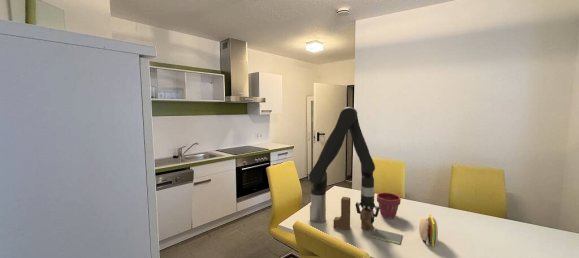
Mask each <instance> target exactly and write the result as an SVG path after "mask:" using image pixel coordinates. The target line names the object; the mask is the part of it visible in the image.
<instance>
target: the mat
mask: <svg viewBox="0 0 579 258" xmlns="http://www.w3.org/2000/svg"><path fill="white" fill-rule="evenodd" d="M371 238H373V239H377V240H381V241H385V242H387V243H393V244H396V245H401V243H402V239H403V234H401V233H397V232H393V231H389V230H384V229H380V228H375V230H374V232H373V234H372V236H371Z"/></svg>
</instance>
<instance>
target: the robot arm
mask: <svg viewBox="0 0 579 258" xmlns="http://www.w3.org/2000/svg"><path fill="white" fill-rule="evenodd" d="M338 116H339V117H337V118H338V119H337V121H336V123H335V126H334V128H333V130H332V131H331V133H330V134H329V136H328V137H327V140H326V142H325V143H324V145H323V147H322V150H321V152H320V154H319V157H318V159H317V161H316V163H315V165H314V166H313V167H312V169H311V171H310V172H309V175H308V178H309V182H311V184H312V186H311V188H310V199H311V200H310V204H309V220H311V221H312V222H314V223H319V224H320V223H324V222H326V221H327V219H326V218H327V213H326V212H327V204H326V203H327V202H326V201H327V197H326V196H327V189H328V187H327V186H328V173H327V170H328V167H329V166H330V165H331V163H332V162H333V161H334V160H335V158H336V157H337V156H338V154H339V152H340V150H341V148H342V146H343V144H344V140H345V139H346V135H347V133H348V131H349V133H350V136H351V141H352V144H353V145H352V146H353V147H354V150H355V152H356V155H357V157H358V159H359V162H360V170H361V171H360V173H361V185H360V186H361V187H360V202H358V201H357V202H356V203H355V210H356V213H357V214H359V218H360V221H361V210H362V209H363V210H364V209H365V210H369V211H371V223H373V224H374V222H375V218H378V216H379V213H380V207H379V205H376V204H375V178H374V172H375V170H376V164H375V162H374V160H373V158H372V156H371V154H370V151H369V147H368V145H367V142H366V139H365V137H364V134H363V131H362V130H361V127H360V123H359V119H358V118H359V116H358V111H357V109H356V108H354V107H352V106H347V107H344V108H343V109H342V110H341V111H340V114H339V115H338ZM360 207H361V208H362V209H361V208H360ZM374 209H375V210H374ZM374 211H375V212H374Z"/></svg>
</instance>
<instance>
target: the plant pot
mask: <svg viewBox="0 0 579 258" xmlns="http://www.w3.org/2000/svg"><path fill="white" fill-rule="evenodd" d="M376 202H377V203H378V206H379V207H380V209H379V213H380V215H381V217H383V218H387V219H395V218H396V217H397V212H398V210H399V209H398V208H399V206H400V205H401V197H400V196H399V194H395V193H389V192H379V193H377V195H376Z"/></svg>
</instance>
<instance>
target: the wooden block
mask: <svg viewBox="0 0 579 258" xmlns="http://www.w3.org/2000/svg"><path fill="white" fill-rule="evenodd" d="M333 228H337V229H342V230H346V231H349V229H350V228H351V197H350V196H349V197H348V196H342V197H341V199H340V216H336V217H334V219H333Z"/></svg>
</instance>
